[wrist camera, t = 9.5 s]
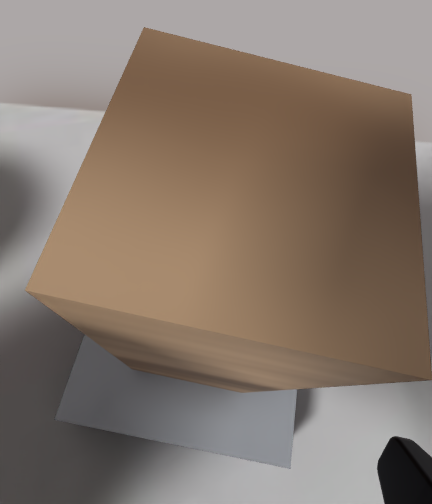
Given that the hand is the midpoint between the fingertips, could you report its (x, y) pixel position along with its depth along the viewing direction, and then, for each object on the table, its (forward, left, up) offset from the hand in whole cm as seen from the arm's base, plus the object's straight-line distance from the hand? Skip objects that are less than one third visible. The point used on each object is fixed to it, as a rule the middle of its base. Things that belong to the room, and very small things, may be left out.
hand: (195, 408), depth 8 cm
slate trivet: (+3, -2, -11) cm, 11 cm away
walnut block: (+3, -2, -8) cm, 8 cm away
